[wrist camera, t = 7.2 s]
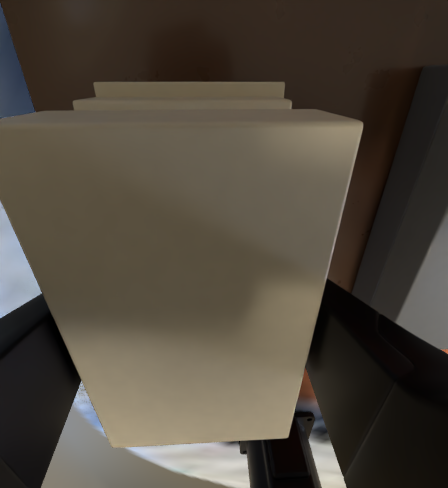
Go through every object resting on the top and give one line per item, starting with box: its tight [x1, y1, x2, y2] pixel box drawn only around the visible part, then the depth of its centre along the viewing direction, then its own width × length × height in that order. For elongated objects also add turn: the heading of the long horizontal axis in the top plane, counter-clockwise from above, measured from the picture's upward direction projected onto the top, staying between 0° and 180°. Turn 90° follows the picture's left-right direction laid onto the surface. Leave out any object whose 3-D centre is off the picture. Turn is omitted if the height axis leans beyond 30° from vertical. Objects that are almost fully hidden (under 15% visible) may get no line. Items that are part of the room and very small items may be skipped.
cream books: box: [73, 82, 292, 111], centre depth 11 cm, size 11×6×4 cm, turn 0°
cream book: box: [0, 109, 363, 448], centre depth 8 cm, size 10×6×2 cm, turn 0°
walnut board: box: [0, 0, 448, 293], centre depth 14 cm, size 16×22×1 cm
